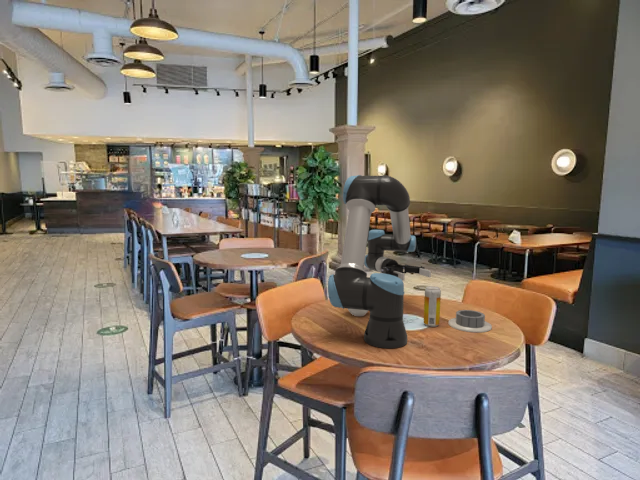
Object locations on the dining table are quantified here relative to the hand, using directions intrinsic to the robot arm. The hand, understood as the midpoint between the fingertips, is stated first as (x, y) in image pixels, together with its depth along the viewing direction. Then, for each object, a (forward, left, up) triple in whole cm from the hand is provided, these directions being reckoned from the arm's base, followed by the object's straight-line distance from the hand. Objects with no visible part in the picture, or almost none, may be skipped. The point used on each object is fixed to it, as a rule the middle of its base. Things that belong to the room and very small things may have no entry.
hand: (417, 275), depth 174 cm
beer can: (-4, -9, -18) cm, 21 cm away
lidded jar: (-11, +21, -18) cm, 30 cm away
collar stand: (+5, -21, -18) cm, 28 cm away
